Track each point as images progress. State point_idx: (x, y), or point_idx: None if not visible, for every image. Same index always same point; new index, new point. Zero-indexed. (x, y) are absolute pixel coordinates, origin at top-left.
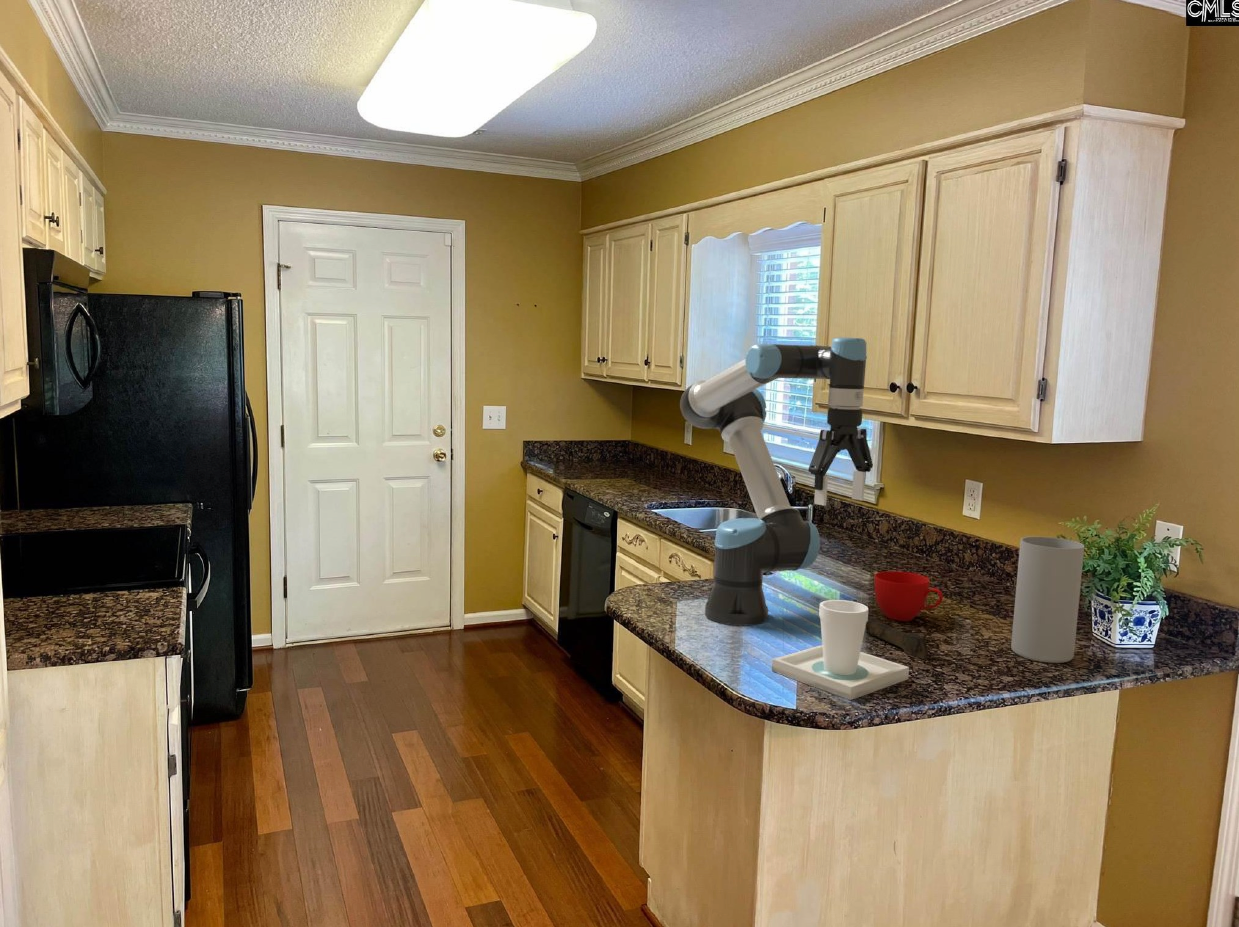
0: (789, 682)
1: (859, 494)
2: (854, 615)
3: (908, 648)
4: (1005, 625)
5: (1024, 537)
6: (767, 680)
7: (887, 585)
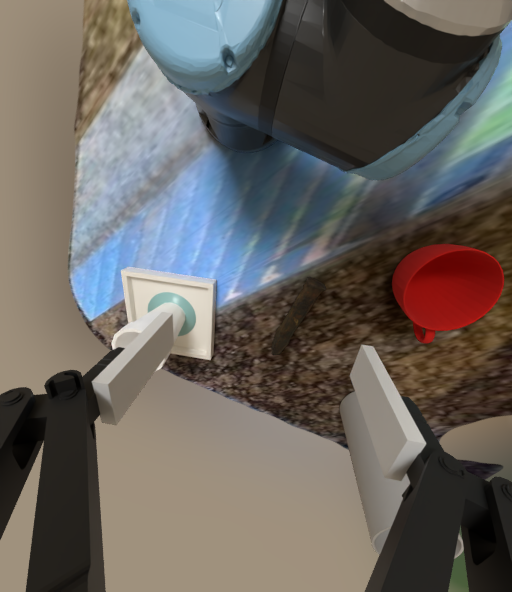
0: (123, 291)
1: (356, 382)
2: None
3: (276, 334)
4: (457, 366)
5: None
6: (109, 276)
7: (402, 285)
